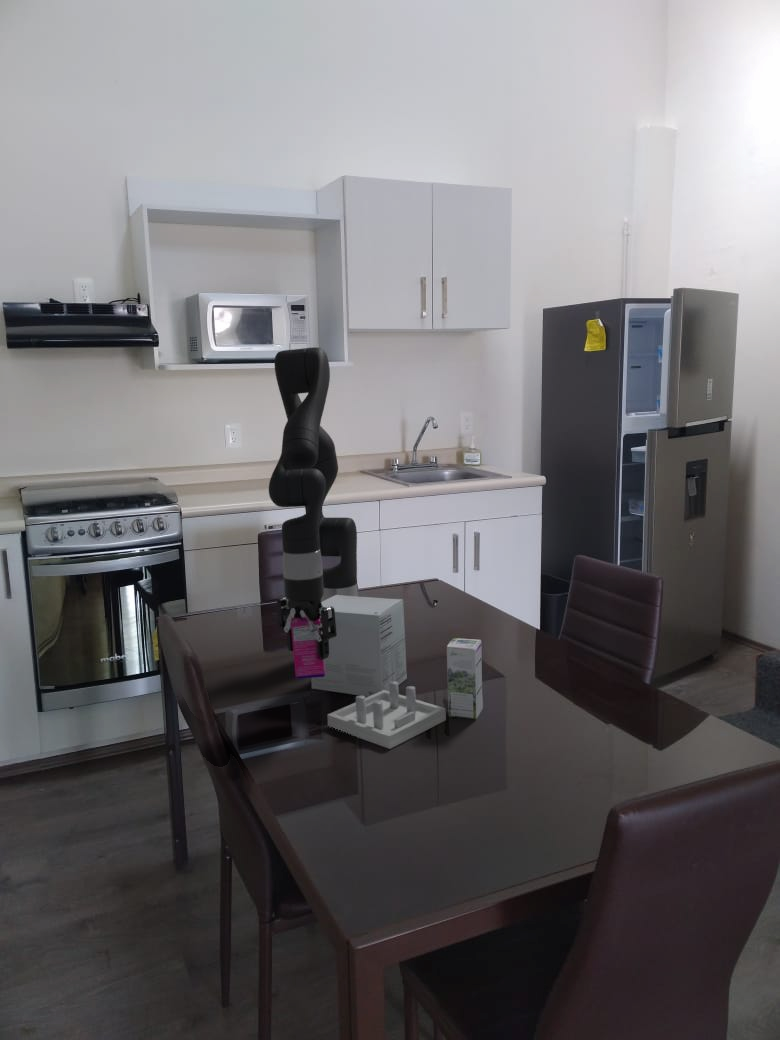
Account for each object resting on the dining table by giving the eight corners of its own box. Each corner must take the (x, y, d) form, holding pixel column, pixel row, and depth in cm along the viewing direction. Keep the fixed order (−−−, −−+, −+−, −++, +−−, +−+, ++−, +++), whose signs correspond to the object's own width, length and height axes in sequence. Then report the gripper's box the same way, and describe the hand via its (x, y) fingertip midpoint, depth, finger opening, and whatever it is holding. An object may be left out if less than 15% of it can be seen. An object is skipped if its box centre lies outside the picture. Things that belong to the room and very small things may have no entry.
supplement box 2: (408, 678, 184) (405, 598, 181) (382, 700, 172) (379, 615, 169) (339, 669, 191) (335, 592, 188) (309, 689, 179) (305, 608, 176)
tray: (384, 701, 171) (383, 672, 170) (445, 720, 160) (445, 689, 159) (327, 726, 159) (326, 695, 158) (389, 748, 149) (388, 716, 148)
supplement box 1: (295, 668, 166) (291, 613, 163) (324, 666, 166) (321, 611, 164) (294, 679, 160) (290, 622, 158) (325, 677, 160) (321, 620, 158)
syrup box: (483, 708, 165) (482, 638, 163) (476, 720, 160) (475, 647, 157) (455, 706, 167) (453, 636, 165) (447, 717, 161) (445, 645, 159)
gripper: (343, 574, 157) (347, 656, 160) (292, 564, 167) (298, 641, 170) (314, 582, 152) (319, 667, 155) (263, 572, 161) (269, 652, 164)
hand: (308, 654), depth 162 cm, fingers closed on supplement box 1, 8 cm apart
